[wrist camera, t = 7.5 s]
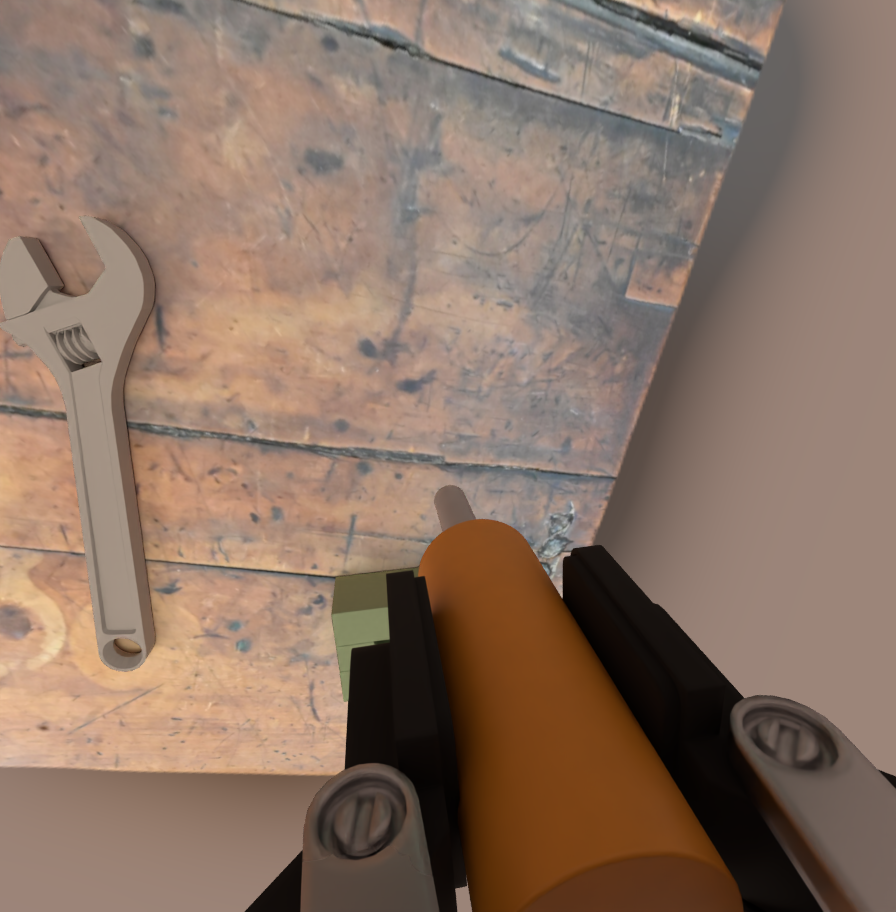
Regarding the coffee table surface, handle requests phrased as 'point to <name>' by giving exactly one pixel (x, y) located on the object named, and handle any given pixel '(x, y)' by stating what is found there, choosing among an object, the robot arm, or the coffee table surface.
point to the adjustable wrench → (93, 412)
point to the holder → (359, 616)
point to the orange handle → (551, 746)
